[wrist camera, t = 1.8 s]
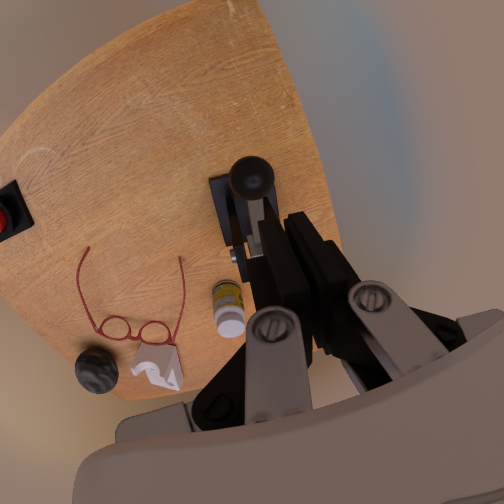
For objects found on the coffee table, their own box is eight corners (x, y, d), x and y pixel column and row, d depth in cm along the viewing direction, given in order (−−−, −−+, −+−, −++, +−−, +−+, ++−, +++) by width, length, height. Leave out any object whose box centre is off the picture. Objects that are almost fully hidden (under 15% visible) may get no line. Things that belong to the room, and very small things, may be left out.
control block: (2, 239, 32) (-6, 248, 29) (-15, 200, 27) (-25, 208, 24) (34, 223, 32) (25, 233, 29) (15, 179, 27) (5, 186, 25)
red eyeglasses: (95, 316, 44) (88, 336, 40) (81, 245, 35) (69, 264, 31) (182, 327, 48) (181, 349, 44) (188, 257, 40) (187, 278, 35)
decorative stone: (94, 333, 46) (83, 373, 38) (130, 357, 51) (124, 396, 43) (73, 348, 48) (63, 384, 40) (107, 369, 54) (100, 404, 45)
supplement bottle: (240, 300, 46) (247, 338, 39) (213, 302, 45) (215, 340, 38) (241, 278, 43) (248, 317, 36) (211, 280, 43) (213, 319, 36)
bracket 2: (208, 178, 33) (208, 224, 23) (269, 164, 34) (299, 204, 23) (225, 242, 39) (233, 305, 29) (279, 230, 39) (306, 288, 29)
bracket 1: (143, 338, 50) (129, 367, 43) (175, 346, 49) (163, 377, 43) (155, 371, 57) (145, 397, 51) (183, 378, 56) (174, 405, 50)
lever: (222, 152, 17) (229, 185, 15) (267, 142, 17) (280, 175, 15) (244, 246, 29) (250, 271, 28) (271, 240, 29) (278, 265, 28)
